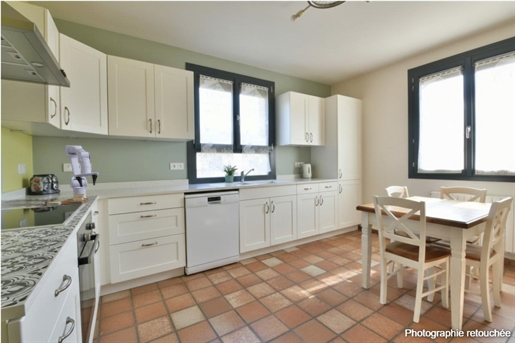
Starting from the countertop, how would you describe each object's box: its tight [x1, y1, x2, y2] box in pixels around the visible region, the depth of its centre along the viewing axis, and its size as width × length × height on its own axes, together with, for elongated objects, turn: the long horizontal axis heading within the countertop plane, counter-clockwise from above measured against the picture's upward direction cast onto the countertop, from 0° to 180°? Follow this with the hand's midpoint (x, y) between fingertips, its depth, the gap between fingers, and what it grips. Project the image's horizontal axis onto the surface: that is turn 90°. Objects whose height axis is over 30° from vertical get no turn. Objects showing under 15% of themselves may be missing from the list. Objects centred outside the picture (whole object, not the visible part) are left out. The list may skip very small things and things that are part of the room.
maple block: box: [73, 194, 84, 201], centre depth 167 cm, size 5×5×4 cm
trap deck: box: [44, 197, 89, 207], centre depth 165 cm, size 16×20×4 cm
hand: (87, 186), depth 168 cm, fingers open, 7 cm apart
